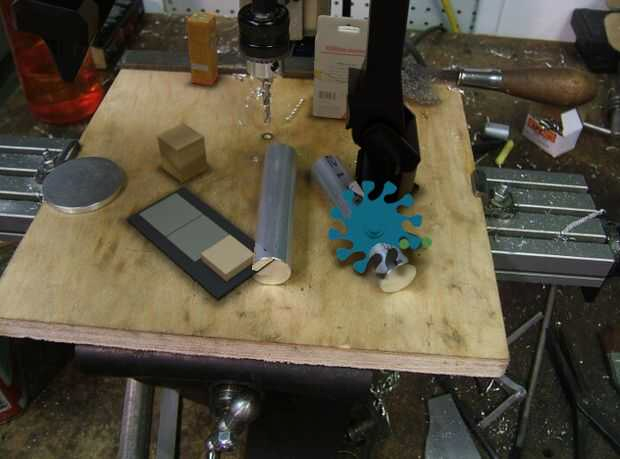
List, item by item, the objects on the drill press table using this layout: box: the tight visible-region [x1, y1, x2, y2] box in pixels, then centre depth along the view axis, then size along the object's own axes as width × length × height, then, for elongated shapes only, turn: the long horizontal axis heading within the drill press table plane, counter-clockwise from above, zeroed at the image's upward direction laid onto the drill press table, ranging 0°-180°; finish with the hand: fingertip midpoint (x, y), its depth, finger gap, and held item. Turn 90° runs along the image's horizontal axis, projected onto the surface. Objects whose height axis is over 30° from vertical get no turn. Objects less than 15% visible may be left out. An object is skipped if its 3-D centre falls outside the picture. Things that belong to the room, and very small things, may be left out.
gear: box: [327, 181, 433, 274], centre depth 61 cm, size 11×6×10 cm
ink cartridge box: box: [312, 14, 368, 120], centre depth 76 cm, size 9×5×15 cm, turn 83°
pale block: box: [156, 122, 208, 184], centre depth 69 cm, size 4×4×5 cm
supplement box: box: [186, 10, 219, 87], centre depth 82 cm, size 3×3×10 cm
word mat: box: [126, 186, 259, 301], centre depth 61 cm, size 16×8×2 cm, turn 46°
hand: (81, 58), depth 59 cm, fingers open, 9 cm apart
